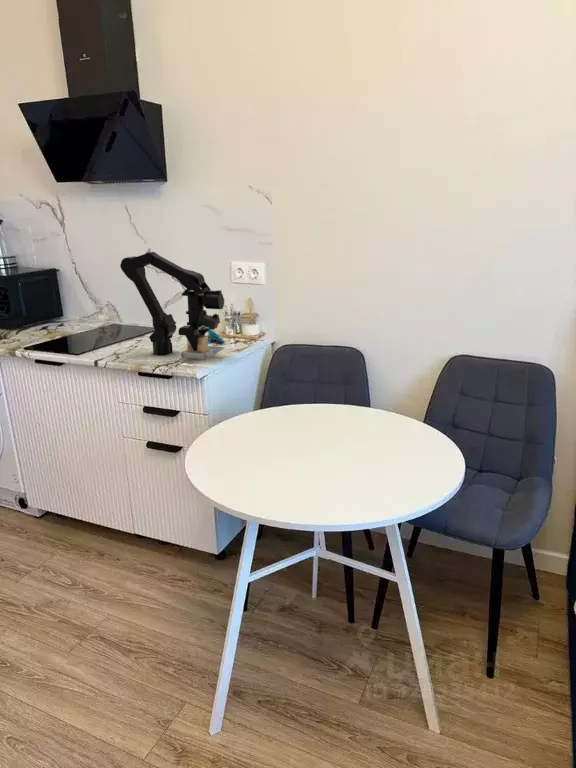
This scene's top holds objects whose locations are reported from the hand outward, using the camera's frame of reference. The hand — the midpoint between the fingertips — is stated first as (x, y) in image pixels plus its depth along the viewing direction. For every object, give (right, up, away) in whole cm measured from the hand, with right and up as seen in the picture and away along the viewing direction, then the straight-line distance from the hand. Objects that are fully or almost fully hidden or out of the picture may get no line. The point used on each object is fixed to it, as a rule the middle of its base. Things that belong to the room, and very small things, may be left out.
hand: (197, 349), depth 207 cm
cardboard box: (0, -1, 0) cm, 1 cm away
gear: (+3, +4, +24) cm, 24 cm away
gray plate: (+1, -2, +6) cm, 6 cm away
